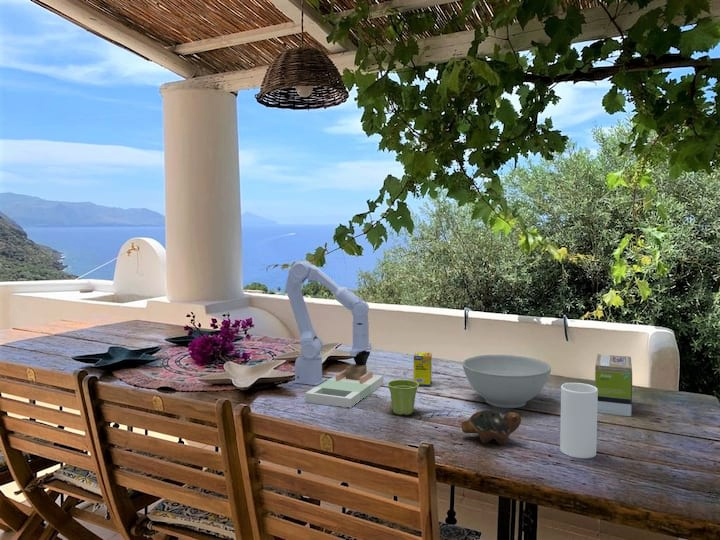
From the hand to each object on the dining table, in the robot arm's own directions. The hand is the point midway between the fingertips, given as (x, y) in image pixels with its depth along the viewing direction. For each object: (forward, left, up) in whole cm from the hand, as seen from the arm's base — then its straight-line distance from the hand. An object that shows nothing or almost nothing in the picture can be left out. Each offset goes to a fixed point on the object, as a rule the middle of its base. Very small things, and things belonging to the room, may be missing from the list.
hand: (361, 371), depth 191 cm
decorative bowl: (+51, -2, -4) cm, 51 cm away
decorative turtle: (+52, -35, -4) cm, 63 cm away
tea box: (+82, +5, -4) cm, 82 cm away
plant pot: (+24, -23, -4) cm, 34 cm away
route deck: (0, -12, -4) cm, 13 cm away
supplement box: (+21, +7, -4) cm, 22 cm away
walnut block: (0, -4, -1) cm, 4 cm away
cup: (+73, -34, -4) cm, 81 cm away
